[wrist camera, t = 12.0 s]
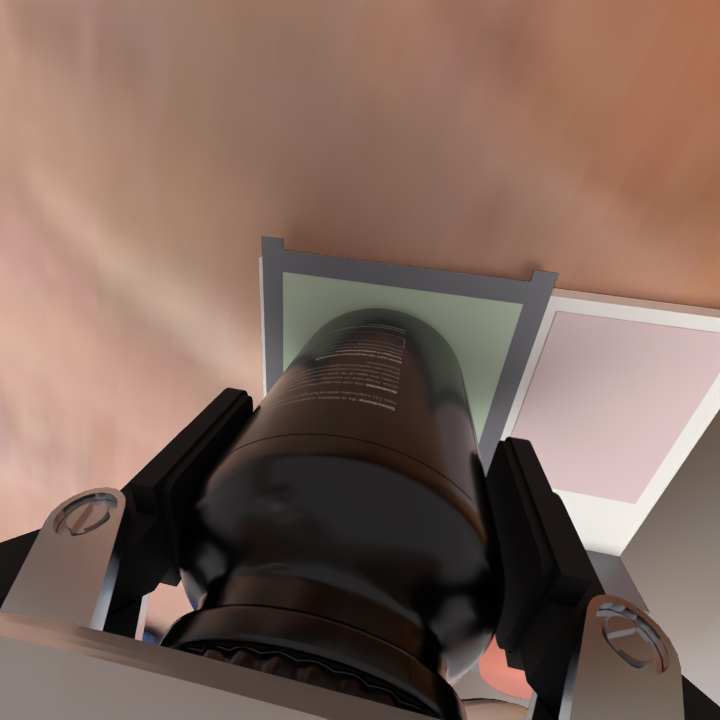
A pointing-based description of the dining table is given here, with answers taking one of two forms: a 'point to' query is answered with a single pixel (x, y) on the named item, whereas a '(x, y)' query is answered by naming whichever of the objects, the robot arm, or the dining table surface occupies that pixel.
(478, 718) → the salad plate
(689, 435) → the printed board
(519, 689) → the button
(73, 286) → the dining table surface
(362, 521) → the supplement bottle
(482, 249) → the dining table surface
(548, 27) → the dining table surface
